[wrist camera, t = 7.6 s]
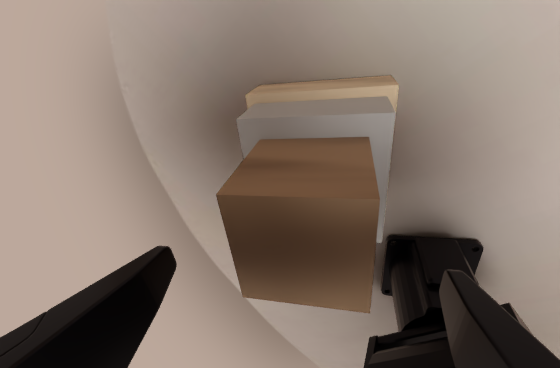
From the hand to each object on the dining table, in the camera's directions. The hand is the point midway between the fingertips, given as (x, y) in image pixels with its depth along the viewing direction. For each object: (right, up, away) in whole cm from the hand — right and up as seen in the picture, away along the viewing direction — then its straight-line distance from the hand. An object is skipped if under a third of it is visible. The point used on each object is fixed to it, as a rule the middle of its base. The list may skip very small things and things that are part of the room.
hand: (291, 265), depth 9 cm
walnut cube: (+1, +3, +5) cm, 6 cm away
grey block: (+2, +4, +7) cm, 9 cm away
